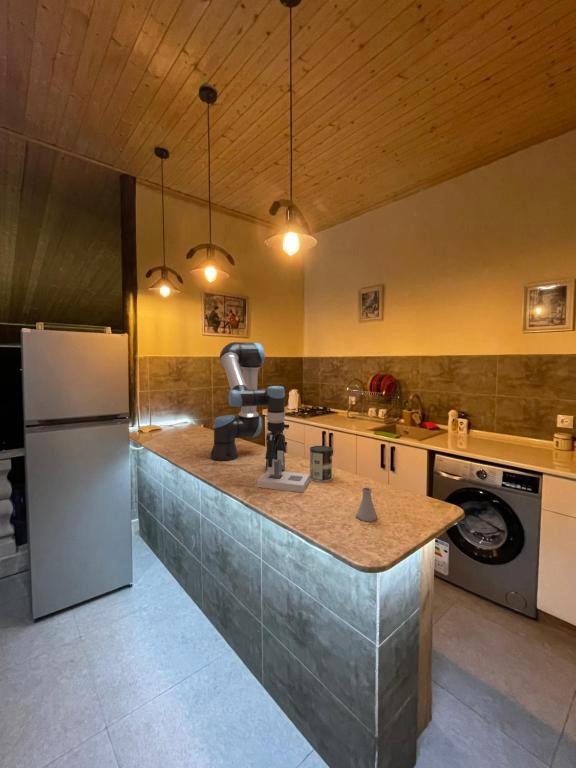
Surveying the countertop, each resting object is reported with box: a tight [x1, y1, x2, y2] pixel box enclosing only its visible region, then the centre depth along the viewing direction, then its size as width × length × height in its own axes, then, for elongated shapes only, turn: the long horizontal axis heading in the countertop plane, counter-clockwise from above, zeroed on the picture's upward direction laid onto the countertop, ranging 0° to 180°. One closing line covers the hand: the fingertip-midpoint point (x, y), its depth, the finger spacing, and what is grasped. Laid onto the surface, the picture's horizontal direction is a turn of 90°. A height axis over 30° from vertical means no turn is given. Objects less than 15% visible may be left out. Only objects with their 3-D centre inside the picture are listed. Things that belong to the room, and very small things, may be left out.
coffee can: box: [309, 445, 333, 483], centre depth 151 cm, size 10×10×14 cm
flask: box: [355, 486, 378, 523], centre depth 113 cm, size 7×7×10 cm
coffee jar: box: [265, 431, 286, 472], centre depth 163 cm, size 10×8×19 cm
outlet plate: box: [256, 471, 311, 493], centre depth 144 cm, size 14×20×3 cm
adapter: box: [270, 459, 282, 479], centre depth 145 cm, size 4×4×10 cm
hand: (275, 469), depth 145 cm, fingers open, 13 cm apart
